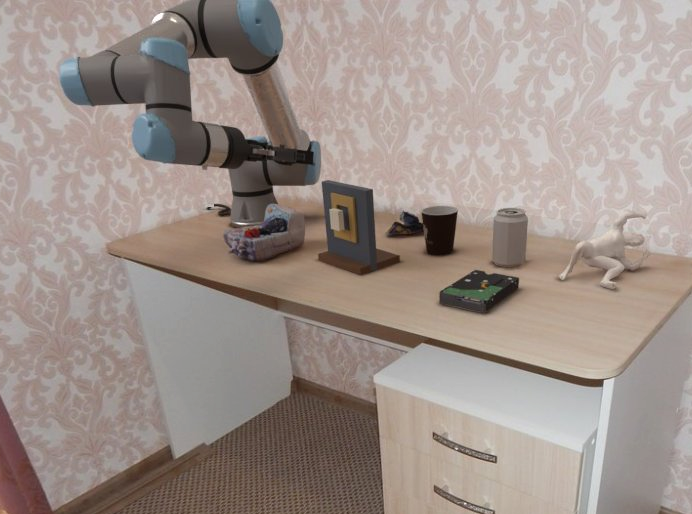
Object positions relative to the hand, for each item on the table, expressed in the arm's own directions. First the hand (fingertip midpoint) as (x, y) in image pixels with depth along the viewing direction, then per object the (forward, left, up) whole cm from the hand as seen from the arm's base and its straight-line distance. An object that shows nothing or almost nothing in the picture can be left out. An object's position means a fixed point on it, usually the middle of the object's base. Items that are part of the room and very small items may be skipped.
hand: (310, 158), depth 133 cm
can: (+24, +35, -25) cm, 49 cm away
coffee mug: (+6, +29, -25) cm, 39 cm away
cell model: (-20, -6, -25) cm, 32 cm away
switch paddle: (+2, +4, -16) cm, 16 cm away
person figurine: (+42, +46, -25) cm, 67 cm away
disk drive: (+36, +17, -25) cm, 47 cm away
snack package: (-11, +31, -25) cm, 41 cm away
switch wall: (+1, +9, -25) cm, 26 cm away
